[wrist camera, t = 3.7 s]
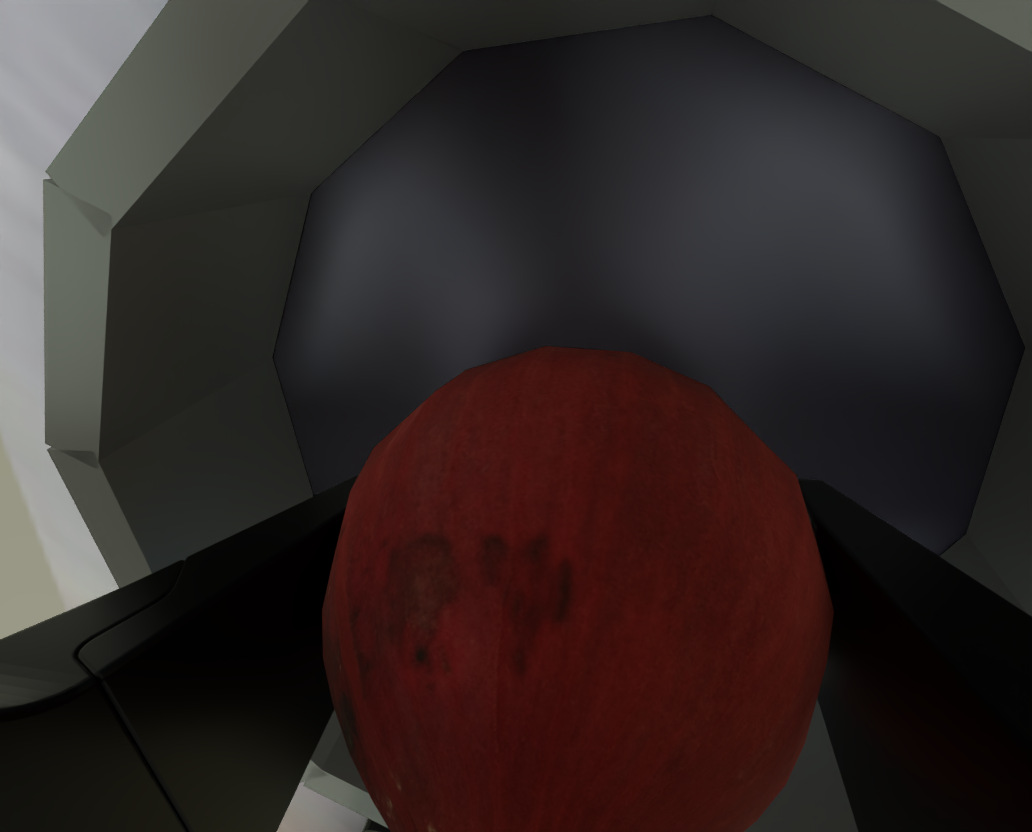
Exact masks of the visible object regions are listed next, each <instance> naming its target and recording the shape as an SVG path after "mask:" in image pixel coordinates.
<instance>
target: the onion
mask: <svg viewBox="0 0 1032 832" xmlns="http://www.w3.org/2000/svg"><path fill="white" fill-rule="evenodd" d="M833 615H834V610H833V606H832V601H831V597H830V593H829V588H828V584H827V579H826V575H825V570H824V566H823V562H822V559H821V555H820V552H819V549H818V545H817V542H816V539H815V535H814V532H813V529H812V525H811V522H810V519H809V515H808V512H807V509H806V505H805V502H804V499H803V495H802V492H801V489H800V485H799V482H798V479H797V475H796V474H795V473H794V472H793V471H792V470H791V469H790V468H789V467H788V466H787V465H786V464H785V463H784V462H783V461H782V460H781V459H780V458H779V457H778V456H777V455H776V454H775V453H774V452H773V451H772V450H771V449H770V448H769V447H768V446H767V445H766V444H765V443H764V442H763V441H762V440H761V439H760V438H759V437H758V436H757V435H756V434H755V433H754V432H753V431H752V430H751V429H750V428H749V427H748V426H747V424H746V423H745V422H744V421H743V420H742V419H741V418H740V417H739V416H738V415H737V414H736V413H735V412H734V411H733V410H732V409H731V408H730V407H729V406H728V405H727V404H726V403H725V402H724V401H723V400H722V399H721V398H720V397H719V396H718V395H717V394H716V393H715V392H714V391H713V390H712V389H711V387H709V386H707V385H705V384H703V383H700V382H698V381H696V380H694V379H691V378H689V377H687V376H684V375H682V374H680V373H678V372H675V371H673V370H671V369H669V368H666V367H664V366H662V365H660V364H657V363H655V362H653V361H650V360H648V359H646V358H644V357H641V356H639V355H637V354H635V353H632V352H623V351H609V350H595V349H581V348H567V347H554V346H544V347H540V348H537V349H534V350H530V351H527V352H524V353H520V354H517V355H514V356H510V357H507V358H504V359H501V360H497V361H494V362H491V363H487V364H484V365H481V366H477V367H474V368H471V369H467V370H465V371H463V372H462V373H461V374H459V375H458V376H456V377H455V378H453V379H452V380H451V381H449V382H448V383H446V384H445V385H443V386H442V387H441V388H439V389H438V390H436V391H435V392H434V393H433V394H432V395H431V396H430V397H429V398H427V399H426V400H425V401H424V402H423V403H422V404H421V405H420V406H419V407H418V408H417V409H415V410H414V411H413V412H412V413H411V414H410V415H409V416H408V417H407V418H406V419H405V420H403V421H402V422H401V423H400V424H399V425H398V426H397V427H396V428H395V429H394V430H392V431H391V432H390V433H389V434H388V435H387V436H386V437H385V438H384V439H383V440H382V441H380V442H379V443H378V444H377V445H376V446H375V447H374V448H373V450H372V452H371V453H370V455H369V457H368V459H367V461H366V463H365V465H364V466H363V468H362V470H361V472H360V474H359V476H358V478H357V480H356V481H355V483H354V485H353V487H352V489H351V491H350V494H349V498H348V502H347V506H346V510H345V514H344V518H343V522H342V526H341V530H340V534H339V539H338V543H337V547H336V551H335V555H334V559H333V563H332V567H331V572H330V576H329V581H328V585H327V590H326V594H325V599H324V603H323V608H322V637H323V660H324V665H325V670H326V674H327V679H328V684H329V688H330V693H331V698H332V702H333V706H334V709H335V712H336V715H337V718H338V721H339V724H340V727H341V730H342V733H343V736H344V739H345V742H346V745H347V748H348V751H349V754H350V756H351V758H352V760H353V762H354V764H355V766H356V768H357V770H358V772H359V774H360V776H361V778H362V780H363V783H364V785H365V787H366V789H367V791H368V793H369V795H370V797H371V799H372V801H373V803H374V804H375V806H376V808H377V809H378V811H379V813H380V815H381V816H382V818H383V820H384V821H385V823H386V825H387V826H388V828H389V830H390V831H391V832H744V831H746V830H747V829H748V828H749V827H750V826H751V825H752V824H753V823H754V822H756V821H757V820H758V819H759V817H760V816H761V815H762V814H763V812H764V811H765V810H766V809H767V807H768V806H769V805H770V804H771V802H772V801H773V800H774V799H775V797H776V796H777V795H778V794H779V793H780V791H781V790H782V789H783V788H784V786H785V785H786V783H787V781H788V779H789V777H790V775H791V772H792V770H793V768H794V766H795V764H796V762H797V759H798V757H799V755H800V753H801V751H802V748H803V746H804V744H805V741H806V738H807V734H808V730H809V727H810V723H811V719H812V716H813V712H814V708H815V705H816V701H817V697H818V694H819V690H820V686H821V683H822V679H823V675H824V672H825V668H826V664H827V659H828V651H829V644H830V637H831V629H832V622H833Z"/></svg>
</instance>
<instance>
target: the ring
mask: <svg viewBox="0 0 1032 832" xmlns="http://www.w3.org/2000/svg"><path fill="white" fill-rule="evenodd" d="M706 15H713V16H715V17H717V18H718V19H720V20H722V21H724V22H726V23H728V24H730V25H732V26H733V27H735V28H737V29H739V30H741V31H743V32H745V33H747V34H748V35H750V36H752V37H754V38H756V39H758V40H760V41H762V42H763V43H765V44H767V45H769V46H771V47H773V48H775V49H776V50H778V51H780V52H782V53H784V54H786V55H788V56H790V57H791V58H793V59H795V60H797V61H799V62H801V63H803V64H805V65H806V66H808V67H810V68H812V69H814V70H816V71H818V72H820V73H821V74H823V75H825V76H827V77H829V78H831V79H833V80H835V81H836V82H838V83H840V84H842V85H844V86H846V87H848V88H850V89H851V90H853V91H855V92H857V93H859V94H861V95H863V96H864V97H866V98H868V99H870V100H872V101H874V102H876V103H878V104H879V105H881V106H883V107H885V108H887V109H889V110H891V111H893V112H894V113H896V114H898V115H900V116H902V117H904V118H906V119H908V120H909V121H911V122H913V123H915V124H917V125H919V126H921V127H923V128H924V129H926V130H928V131H930V132H932V133H934V134H936V135H938V136H939V137H940V138H941V140H942V143H943V145H944V148H945V150H946V153H947V155H948V158H949V160H950V163H951V165H952V168H953V170H954V173H955V175H956V178H957V180H958V182H959V185H960V187H961V190H962V192H963V195H964V197H965V200H966V202H967V205H968V207H969V210H970V212H971V215H972V217H973V220H974V222H975V225H976V227H977V229H978V232H979V234H980V237H981V239H982V242H983V244H984V247H985V249H986V252H987V254H988V257H989V259H990V262H991V264H992V267H993V269H994V271H995V274H996V276H997V279H998V281H999V284H1000V286H1001V289H1002V291H1003V294H1004V296H1005V299H1006V301H1007V304H1008V306H1009V309H1010V311H1011V314H1012V316H1013V318H1014V321H1015V323H1016V326H1017V328H1018V331H1019V333H1020V336H1021V338H1022V341H1023V343H1024V346H1025V351H1024V354H1023V357H1022V360H1021V363H1020V366H1019V369H1018V373H1017V376H1016V379H1015V382H1014V385H1013V388H1012V391H1011V395H1010V398H1009V401H1008V404H1007V407H1006V410H1005V413H1004V416H1003V420H1002V423H1001V426H1000V429H999V432H998V435H997V438H996V442H995V445H994V448H993V451H992V454H991V457H990V460H989V463H988V467H987V470H986V473H985V476H984V479H983V482H982V485H981V489H980V492H979V495H978V498H977V501H976V504H975V507H974V510H973V514H972V517H971V520H970V523H969V526H968V529H967V532H966V534H965V535H964V536H963V537H962V538H961V539H959V540H958V541H957V542H956V543H955V544H953V545H952V546H951V547H950V548H949V549H947V550H946V551H945V552H944V553H943V554H941V555H940V557H941V558H943V559H944V560H946V561H947V562H949V563H950V564H952V565H953V566H955V567H956V568H958V569H960V570H961V571H963V572H964V573H966V574H967V575H969V576H970V577H972V578H973V579H975V580H977V581H978V582H980V583H981V584H983V585H984V586H986V587H987V588H989V589H990V590H992V591H994V592H995V593H997V594H998V595H1000V596H1001V597H1003V598H1004V599H1006V600H1007V601H1009V602H1010V603H1012V604H1014V605H1015V606H1017V607H1018V608H1020V609H1021V610H1023V611H1024V612H1026V613H1027V614H1029V615H1031V616H1032V0H169V1H168V3H167V4H166V5H165V7H164V8H163V9H162V11H161V12H160V14H159V15H158V16H157V18H156V19H155V21H154V22H153V23H152V25H151V26H150V27H149V29H148V30H147V32H146V33H145V34H144V36H143V37H142V39H141V40H140V41H139V43H138V44H137V45H136V47H135V48H134V50H133V51H132V52H131V54H130V55H129V57H128V58H127V59H126V61H125V62H124V63H123V65H122V66H121V68H120V69H119V70H118V72H117V73H116V75H115V76H114V77H113V79H112V80H111V81H110V83H109V84H108V86H107V87H106V88H105V90H104V91H103V93H102V94H101V95H100V97H99V98H98V99H97V101H96V102H95V104H94V105H93V106H92V108H91V109H90V111H89V112H88V113H87V115H86V116H85V117H84V119H83V120H82V122H81V123H80V124H79V126H78V127H77V129H76V130H75V131H74V133H73V134H72V136H71V137H70V138H69V140H68V141H67V142H66V144H65V145H64V147H63V148H62V149H61V151H60V152H59V154H58V155H57V156H56V158H55V159H54V160H53V162H52V163H51V165H50V166H49V167H48V169H47V170H46V173H47V174H48V175H49V176H50V177H51V179H44V180H43V214H44V352H45V444H47V445H49V446H51V448H49V449H47V451H48V453H49V454H50V456H51V458H52V460H53V462H54V464H55V466H56V468H57V470H58V472H59V474H60V476H61V477H62V479H63V481H64V483H65V485H66V487H67V489H68V491H69V493H70V495H71V497H72V499H73V500H74V502H75V504H76V506H77V508H78V510H79V512H80V514H81V516H82V518H83V520H84V522H85V523H86V525H87V527H88V529H89V531H90V533H91V535H92V537H93V539H94V541H95V543H96V544H97V546H98V548H99V550H100V552H101V554H102V556H103V558H104V560H105V562H106V564H107V566H108V567H109V569H110V571H111V573H112V575H113V577H114V579H115V581H116V583H117V585H118V587H119V588H122V587H124V586H126V585H128V584H130V583H132V582H135V581H137V580H139V579H141V578H143V577H145V576H148V575H150V574H152V573H154V572H156V571H158V570H160V569H162V568H165V567H167V566H169V565H171V564H173V563H175V562H177V561H179V560H186V558H187V557H188V556H190V555H192V554H194V553H196V552H198V551H200V550H202V549H205V548H207V547H209V546H211V545H213V544H215V543H217V542H219V541H221V540H223V539H226V538H228V537H230V536H232V535H234V534H236V533H238V532H240V531H242V530H244V529H246V528H249V527H251V526H253V525H255V524H257V523H259V522H261V521H263V520H265V519H267V518H269V517H272V516H274V515H276V514H278V513H280V512H282V511H284V510H286V509H288V508H290V507H292V506H295V505H297V504H299V503H301V502H303V501H305V500H307V499H309V498H311V497H313V493H312V489H311V486H310V483H309V479H308V476H307V473H306V469H305V466H304V463H303V459H302V456H301V452H300V449H299V446H298V442H297V439H296V436H295V432H294V429H293V426H292V422H291V419H290V415H289V412H288V409H287V405H286V402H285V399H284V395H283V392H282V389H281V385H280V382H279V379H278V375H277V372H276V368H275V365H274V362H273V358H272V357H273V352H274V348H275V344H276V340H277V335H278V331H279V327H280V323H281V318H282V314H283V310H284V306H285V301H286V297H287V293H288V289H289V284H290V280H291V276H292V272H293V268H294V263H295V259H296V255H297V251H298V246H299V242H300V238H301V234H302V229H303V225H304V221H305V217H306V212H307V208H308V204H309V200H310V195H311V192H313V191H314V190H315V189H316V188H317V187H318V186H319V185H320V184H321V183H322V182H323V181H324V180H325V179H326V178H328V177H329V176H330V175H331V174H332V173H333V172H334V171H335V170H336V169H337V168H338V167H339V166H340V165H341V164H342V163H344V162H345V161H346V160H347V159H348V158H349V157H350V156H351V155H352V154H353V153H354V152H355V151H356V150H357V149H359V148H360V147H361V146H362V145H363V144H364V143H365V142H366V141H367V140H368V139H369V138H370V137H371V136H372V135H373V134H375V133H376V132H377V131H378V130H379V129H380V128H381V127H382V126H383V125H384V124H385V123H386V122H387V121H388V120H390V119H391V118H392V117H393V116H394V115H395V114H396V113H397V112H398V111H399V110H400V109H401V108H402V107H403V106H404V105H406V104H407V103H408V102H409V101H410V100H411V99H412V98H413V97H414V96H415V95H416V94H417V93H418V92H419V91H420V90H422V89H423V88H424V87H425V86H426V85H427V84H428V83H429V82H430V81H431V80H432V79H433V78H434V77H435V76H437V75H438V74H439V73H440V72H441V71H442V70H443V69H444V68H445V67H446V66H447V65H448V64H449V63H450V62H451V61H453V60H454V59H455V58H456V57H457V56H458V55H459V54H460V53H461V52H462V51H464V50H471V49H478V48H485V47H492V46H499V45H506V44H513V43H519V42H526V41H533V40H540V39H547V38H554V37H561V36H568V35H575V34H582V33H589V32H595V31H602V30H609V29H616V28H623V27H630V26H637V25H644V24H651V23H658V22H664V21H671V20H678V19H685V18H692V17H699V16H706ZM304 781H305V783H304V785H303V786H305V787H307V788H309V789H311V790H313V791H315V792H317V793H319V794H321V795H323V796H325V797H327V798H329V799H331V800H333V801H335V802H337V803H339V804H341V805H343V806H345V807H347V808H349V809H351V810H353V811H355V812H357V813H359V814H361V815H363V816H365V817H367V818H369V819H371V820H373V821H375V822H377V823H379V824H381V825H383V826H385V827H387V828H388V826H387V825H386V823H385V821H384V820H383V818H382V816H381V815H380V813H379V811H378V809H377V808H376V806H375V804H374V803H373V801H372V799H371V797H370V795H369V793H368V791H367V789H366V787H365V785H364V783H363V780H362V778H361V776H360V774H359V772H358V770H357V768H356V766H355V764H354V762H353V760H352V758H351V756H350V754H349V751H348V748H347V745H346V742H345V739H344V736H343V733H342V730H341V727H340V724H339V721H338V718H337V715H336V712H335V709H334V711H333V714H332V716H331V718H330V720H329V722H328V724H327V726H326V728H325V730H324V732H323V735H322V737H321V739H320V741H319V743H318V745H317V747H316V749H315V751H314V754H313V756H312V758H311V760H310V762H309V764H308V766H307V768H306V770H305V772H304V775H303V777H302V779H301V781H300V782H304ZM744 832H858V829H857V826H856V823H855V820H854V816H853V813H852V810H851V807H850V803H849V800H848V797H847V794H846V790H845V787H844V784H843V781H842V777H841V774H840V771H839V768H838V765H837V761H836V758H835V755H834V752H833V748H832V745H831V742H830V739H829V735H828V732H827V729H826V726H825V722H824V719H823V716H822V713H821V709H820V706H819V703H818V700H817V701H816V705H815V708H814V712H813V716H812V719H811V723H810V727H809V730H808V734H807V738H806V741H805V744H804V746H803V748H802V751H801V753H800V755H799V757H798V759H797V762H796V764H795V766H794V768H793V770H792V772H791V775H790V777H789V779H788V781H787V783H786V785H785V786H784V788H783V789H782V790H781V791H780V793H779V794H778V795H777V796H776V797H775V799H774V800H773V801H772V802H771V804H770V805H769V806H768V807H767V809H766V810H765V811H764V812H763V814H762V815H761V816H760V817H759V819H758V820H757V821H756V822H754V823H753V824H752V825H751V826H750V827H749V828H748V829H747V830H746V831H744Z"/></svg>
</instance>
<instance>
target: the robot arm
mask: <svg viewBox="0 0 1032 832" xmlns="http://www.w3.org/2000/svg"><path fill="white" fill-rule="evenodd" d="M358 476H359V475H357V476H355V477H353V478H351V479H349V480H347V481H345V482H343V483H341V484H338V485H336V486H334V487H332V488H330V489H328V490H326V491H324V492H322V493H320V494H318V495H315V496H313V497H311V498H309V499H307V500H305V501H303V502H301V503H299V504H297V505H295V506H292V507H290V508H288V509H286V510H284V511H282V512H280V513H278V514H276V515H274V516H272V517H269V518H267V519H265V520H263V521H261V522H259V523H257V524H255V525H253V526H251V527H249V528H246V529H244V530H242V531H240V532H238V533H236V534H234V535H232V536H230V537H228V538H226V539H223V540H221V541H219V542H217V543H215V544H213V545H211V546H209V547H207V548H205V549H202V550H200V551H198V552H196V553H194V554H192V555H190V556H188V557H187V558H186V560H179V561H177V562H175V563H173V564H171V565H169V566H167V567H165V568H162V569H160V570H158V571H156V572H154V573H152V574H150V575H148V576H145V577H143V578H141V579H139V580H137V581H135V582H132V583H130V584H128V585H126V586H124V587H122V588H119V589H117V590H115V591H113V592H110V593H108V594H106V595H103V596H101V597H99V598H97V599H94V600H92V601H90V602H87V603H85V604H83V605H80V606H78V607H76V608H74V609H71V610H69V611H67V612H64V613H62V614H60V615H57V616H55V617H52V618H50V619H48V620H45V621H43V622H40V623H38V624H36V625H33V626H31V627H29V628H26V629H24V630H22V631H19V632H17V633H14V634H12V635H10V636H8V637H5V638H3V639H0V832H276V831H277V829H278V827H279V825H280V823H281V821H282V819H283V817H284V815H285V812H286V810H287V808H288V806H289V804H290V802H291V800H292V798H293V796H294V793H295V791H296V789H297V787H298V785H299V783H300V781H301V779H302V777H303V775H304V772H305V770H306V768H307V766H308V764H309V762H310V760H311V758H312V756H313V754H314V751H315V749H316V747H317V745H318V743H319V741H320V739H321V737H322V735H323V732H324V730H325V728H326V726H327V724H328V722H329V720H330V718H331V716H332V714H333V711H334V706H333V702H332V698H331V693H330V688H329V684H328V679H327V674H326V670H325V665H324V660H323V637H322V608H323V603H324V599H325V594H326V590H327V585H328V581H329V576H330V572H331V567H332V563H333V559H334V555H335V551H336V547H337V543H338V539H339V534H340V530H341V526H342V522H343V518H344V514H345V510H346V506H347V502H348V498H349V494H350V491H351V489H352V487H353V485H354V483H355V481H356V480H357V478H358ZM798 482H799V485H800V489H801V492H802V495H803V499H804V502H805V505H806V509H807V512H808V515H809V519H810V522H811V525H812V529H813V532H814V535H815V539H816V542H817V545H818V549H819V552H820V555H821V559H822V562H823V566H824V570H825V575H826V579H827V584H828V588H829V593H830V597H831V601H832V606H833V610H834V615H833V622H832V629H831V637H830V644H829V651H828V659H827V664H826V668H825V672H824V675H823V679H822V683H821V686H820V690H819V694H818V697H817V700H818V703H819V706H820V709H821V713H822V716H823V719H824V722H825V726H826V729H827V732H828V735H829V739H830V742H831V745H832V748H833V752H834V755H835V758H836V761H837V765H838V768H839V771H840V774H841V777H842V781H843V784H844V787H845V790H846V794H847V797H848V800H849V803H850V807H851V810H852V813H853V816H854V820H855V823H856V826H857V829H858V832H1032V616H1031V615H1029V614H1027V613H1026V612H1024V611H1023V610H1021V609H1020V608H1018V607H1017V606H1015V605H1014V604H1012V603H1010V602H1009V601H1007V600H1006V599H1004V598H1003V597H1001V596H1000V595H998V594H997V593H995V592H994V591H992V590H990V589H989V588H987V587H986V586H984V585H983V584H981V583H980V582H978V581H977V580H975V579H973V578H972V577H970V576H969V575H967V574H966V573H964V572H963V571H961V570H960V569H958V568H956V567H955V566H953V565H952V564H950V563H949V562H947V561H946V560H944V559H943V558H941V557H940V556H938V555H936V554H935V553H933V552H932V551H930V550H929V549H927V548H926V547H924V546H923V545H921V544H919V543H918V542H916V541H915V540H913V539H912V538H910V537H909V536H907V535H906V534H904V533H902V532H901V531H899V530H898V529H896V528H895V527H893V526H892V525H890V524H889V523H887V522H886V521H884V520H882V519H881V518H879V517H878V516H876V515H875V514H873V513H872V512H870V511H869V510H867V509H865V508H864V507H862V506H861V505H859V504H858V503H856V502H855V501H853V500H852V499H850V498H849V497H847V496H845V495H844V494H842V493H841V492H839V491H838V490H836V489H835V488H833V487H832V486H830V485H828V484H827V483H825V482H824V481H822V480H813V479H798ZM362 832H391V831H390V830H389V828H387V827H385V826H383V825H381V824H379V823H377V822H375V821H373V820H371V819H369V818H368V820H367V821H366V824H365V826H364V829H363V831H362Z"/></svg>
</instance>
